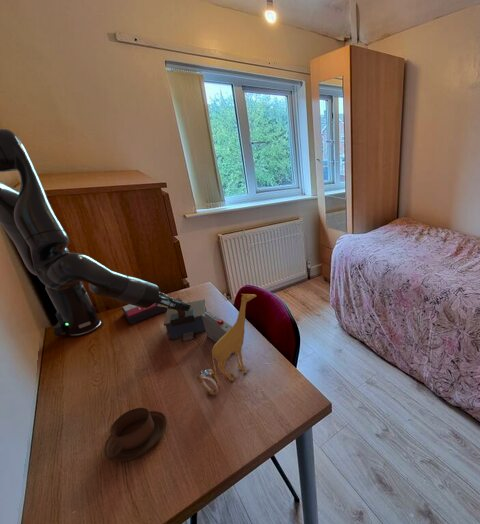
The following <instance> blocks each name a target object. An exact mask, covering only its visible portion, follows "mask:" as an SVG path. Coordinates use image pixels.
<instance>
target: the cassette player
mask: <svg viewBox="0 0 480 524" xmlns="http://www.w3.org/2000/svg"><path fill="white" fill-rule="evenodd" d="M201 316H202V320H203V323H204V327H205V331H204V332H205V334H206V337H207V338H209V339H210V340H211V341H213V342H214V343H215V344H216V343H217V342H218V340H219V339H220V338H221V337H222V336H223V335H225V334H226V333H227V332H228V331H229V330H230V329H231V328H232V327H233V326H234V325H231V324H229V323H227V321H225V320H223V319H221V318H220V317H218V316H217V315H215V314H214V313H212V312H210V311H208V310H207V312H205V314H202V315H201ZM233 354H235V351H234V352H232V353H231V354H230V355H233Z"/></svg>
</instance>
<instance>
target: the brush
mask: <svg viewBox="0 0 480 524" xmlns="http://www.w3.org/2000/svg"><path fill="white" fill-rule="evenodd" d="M175 299H176V301H179V302H180V301H181V302H183V300H182V297H177V298H175ZM177 312H178V313H175V314H171V318H170V322H171V325H172V327H173V326H177V325H181V324H185V323H189V322H194V321H195V317H196V315H195V311H194V309H193V310H189V311H184V310H177Z"/></svg>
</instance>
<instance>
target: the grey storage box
mask: <svg viewBox="0 0 480 524" xmlns="http://www.w3.org/2000/svg"><path fill="white" fill-rule="evenodd" d="M185 303H186V304H188V305H190V306H191V307H190V309H189V310H193V309H194V311H195V315H196V317H195V321H194V322H189V323H185V324H181V325H177V326H173V327H172V325H171V322H170V318H171V314H175V313H178V312H177V310H174V309H169V308H167V311H166V312H165V317H164V321H163V326H165V328H166V330H167V334H168V336H169V339H170V340H174V339H175V340H176V339H178V338H183V334H184V333H188V332H192V331H193V333H194V334H198V333H203V332H206V331H205V327H204V323H203V320H202V316H201V315H202V314H205V312H207V311H208V310H207V306H206V299H199V300H194V301H191V302H189V301H188V302H185Z"/></svg>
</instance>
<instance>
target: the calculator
mask: <svg viewBox="0 0 480 524" xmlns="http://www.w3.org/2000/svg"><path fill="white" fill-rule="evenodd" d="M121 309H122V312H123V314H124V316H125V318H126V319H127V321H128V323H129V325H134V324H136V323H139V322H141V321H143V320H145V319H148V318H150V317H153V316H155V315H158V314H160V313H166V312H167V308H166V307H159V306H156V304H153V305H152V306H150V307H148V308H142V307H138V306H134V305H131V304H127V305H124V306H122V308H121Z"/></svg>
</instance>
